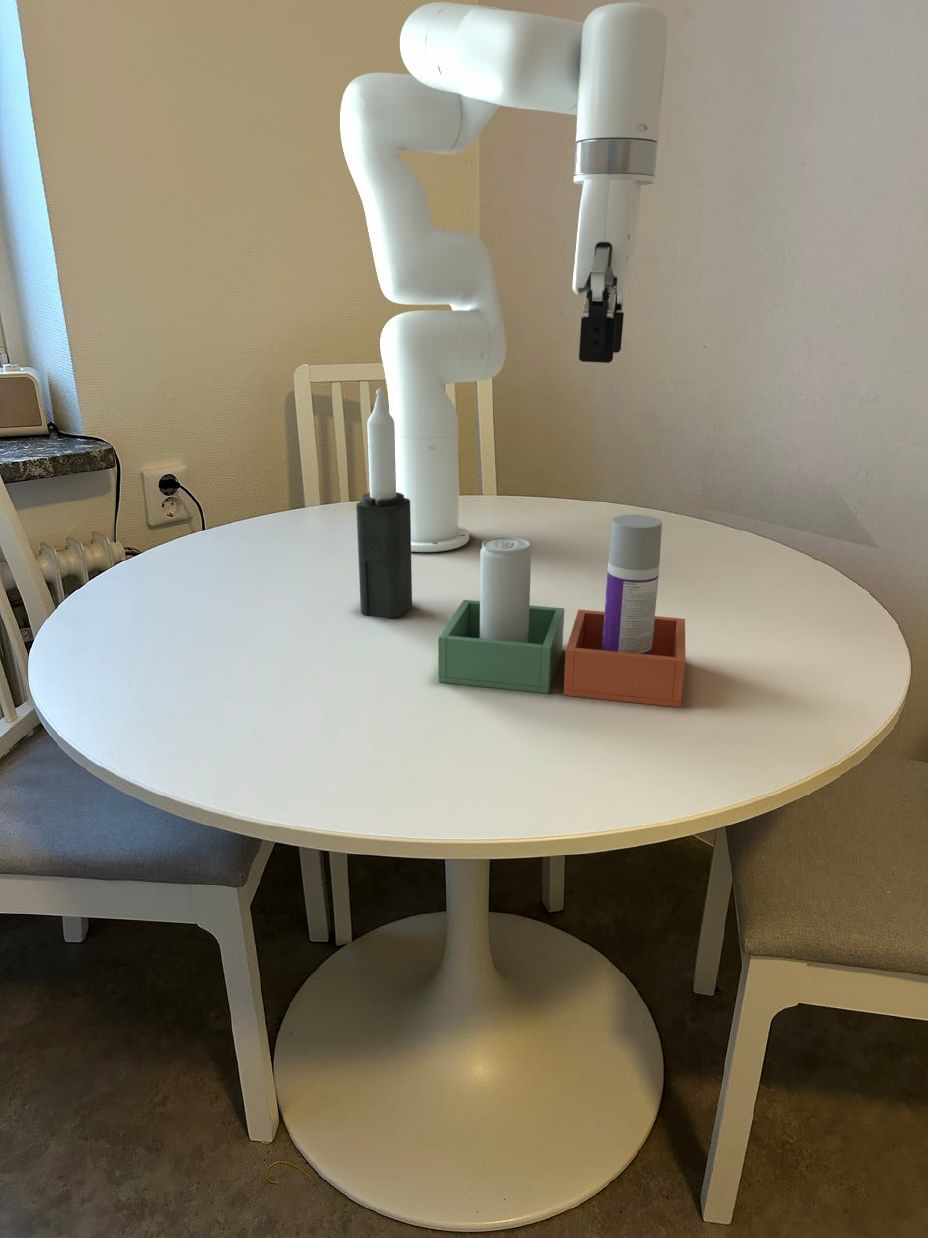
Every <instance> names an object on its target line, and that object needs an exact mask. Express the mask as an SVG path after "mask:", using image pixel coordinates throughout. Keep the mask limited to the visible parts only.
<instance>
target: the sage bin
mask: <svg viewBox="0 0 928 1238" xmlns="http://www.w3.org/2000/svg"><path fill="white" fill-rule="evenodd" d="M564 625H565V608H564V607H555V606H554V607H553V606H541V605H531V604H529V631H528V643H520V642H509V641H499V640H488V639H480V600H473V599H472V600H470V599H463V600H462V601H461V603H460V605H459V606H458V608H457V609H456V611H455V612H454V614H453V615H452V617H451V618H450V620H449V621H448V623H447V624H446V626H444V629H443V630H442V631H441V633H440V635H439V636H438V638H437V639H438V640H437V648H438V649H437V652H438V654H437V658H438V659H437V661H438V665H437V666H438V671H437V672H438V681H437V682H438V683H446V684H455V685H464V686H473V687H484V688H492V689H503V690H511V691H512V690H513V691H522V692H529V693H539V694H540V693H541V694H549V693H550V690H551V687H552V683H553V680H554V677H555V673H556V671H557V668H558V664H559V662H560V658H561V655H562V652H563V648H564V647H563V646H564V645H563V644H564Z"/></svg>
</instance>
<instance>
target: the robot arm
mask: <svg viewBox="0 0 928 1238" xmlns="http://www.w3.org/2000/svg"><path fill="white" fill-rule="evenodd" d="M668 31H669V26H668V20H667V16H666V15H665V13H664V11H663V10H661V9H660V8H659V7H657V6H655V5H652V4H649V3H644V2H634V1H633V2H631V1H630V2H628V1H627V2H626V1H625V2H614V3H608V4H605V5H601V6H598V7H597V8H595V9H593V10H592V11H591V12H590V13H589V14H588V15H587V16H586V18H585V19H584V22H582V21H576V20H571V19H566V18H563V17H562V18H561V17H555V16H551V15H544V14H537V13H531V12H525V11H519V10H518V11H517V10H511V9H510V10H508V9H503V8H502V7H498V6H489V5H477V4H469V3H468V4H467V3H459V2H458V3H456V2H446V1H437V2H436V1H435V2H429V3H425V4H424V5H421V6H419V7H418V8H416V9H414V11H412V13H410V15H409V16H408V17H407V19H406V20H405V21H404V24H403V25H402V28H401V31H400V37H399V50H400V56H401V59H402V61H403V64H404V66H405V67H406V69H407V71H408V72H409V73H410V74H404V73H398V72H397V73H396V72H381V71H380V72H369V73H364V74H362V75H360V76H356V77H355V78H354V79H352V81H350V82H349V84H348V85H347V87H345V90H344V92H343V95H342V99H341V105H340V112H339V113H340V114H339V115H340V116H339V128H340V140H341V145H342V149H343V154H344V158H345V161H346V164H347V167H348V170H349V172H350V174H351V176H352V179H353V183H355V186H356V189H357V191H358V194H359V196H360V199H361V201H362V205H363V210H364V213H365V219H366V225H367V231H368V234H369V235H368V236H369V241H370V245H371V249H372V255H373V260H374V265H375V271H376V274H377V279H378V283H379V285H380V289H381V292H382V293H383V295H384V297H385V298H386V299H387V300H389V301H390V302H392V303H395V304H398V305H411V306H413V305H414V306H419V305H420V306H425V305H426V306H427V305H433V306H435V305H449V306H450V307H451V310H446V309H432V310H431V309H430V310H429V309H427V310H410V311H405V312H402V313H400V314H397V315H395V316H393V317H391V318H390V319H389V320H388V321H387V323H386V324H384V326H383V328H382V331H381V334H380V342H379V343H380V344H379V345H380V356H381V360H382V365H383V370H384V376H385V382H386V389H387V397H388V407H389V408H388V412H389V413H390V415H391V416H392V418H393V419H394V422H395V458H396V492H398V493H401V494H403V495H404V498H407V499H409V500H410V519H411V553H412V552H414V553H436V552H445V551H450V550H454V549H458V548H460V547H464V546H465V545H466V544H468V542H469V540H470V533H469V531H468V529H466V528H465V527H463V526H461V525H459V485H460V484H459V475H460V474H459V468H460V467H459V459H460V458H459V457H460V455H459V449H460V448H459V446H460V445H459V444H460V443H459V441H460V439H459V438H460V436H459V435H460V434H459V433H460V432H459V416H458V412H457V410H456V407H455V405H454V404H453V401H452V400H451V399H450V397H449V395H448V394H447V392H446V390H445V388H444V386H443V385H449V384H457V383H459V384H460V383H471V382H473V383H474V382H481V381H488V380H490V379H492V378H494V377H496V376H498V374H499V373H500V372H501V371H502V369H503V367H504V364H505V361H506V356H507V337H506V331H505V330H506V329H505V325H504V318H503V314H502V308H501V303H500V297H499V291H498V286H497V281H496V276H495V271H494V267H493V262H492V258H491V254H490V252H489V250H488V248H487V247H486V245H485V243H484V242H483V240H482V239H481V238H480V237H478V236H477V235H476V234H474V233H473V232H469V231H465V230H457V229H440V228H438V227H437V226H435V225H434V223H433V221H432V217H431V213H430V208H429V201H428V195H427V193H426V191H425V188H424V187H423V184H422V183H421V182H420V180H419V179H418V176H416V173H415V172H414V171H413V169H412V168H410V166H409V165H408V164H407V163H406V162H405V161H404V160H403V159H402V157H401V156H400V153H399V151H404V152H412V153H413V152H415V153H428V154H438V155H439V154H440V155H455V154H460V153H462V152H464V151H466V150H468V148H470V147H471V145H473V143H475V141H476V140H477V138H478V137H479V136H480V135H481V133H482V132H483V130H484V129H485V127H486V126H487V125H488V123H489V122H490V120H491V119H492V118H493V117H494V115H495V114H496V113H497V112H498V110H499V108H500V107H501V106H502V107H508V108H514V109H522V110H535V111H542V112H552V113H557V114H563V115H565V114H566V115H572V116H576V130H575V131H576V134H575V144H574V145H575V146H574V147H575V148H574V163H573V184H577V185H578V184H579V185H582V190H581V196H580V204H579V211H578V212H579V213H578V221H577V230H576V231H577V233H576V243H575V256H574V266H573V277H572V291H573V293H574V294H575V295H577V296H580V295H581V296H582V295H584V294H585V295H584V296H585V298H584V302H583V312H582V317H581V319H580V332H579V347H578V348H579V349H578V359H579V361H580V362H582V363H603V364H610V363H611V362H612V361H613V359H614V353H615V354H617V353H620V351H621V350H622V341H623V340H622V339H623V327H624V318H625V317H624V316H625V312H623V307H624V294H625V293H626V292H628V291H629V289H630V284H631V278H632V272H633V266H634V260H635V252H636V243H637V234H638V224H639V214H640V204H641V203H640V202H641V191H642V186H648V185H653V184H655V178H656V177H655V176H656V169H657V168H656V165H657V157H658V156H657V155H658V143H659V134H660V123H661V111H662V101H663V89H664V78H665V66H666V57H667V45H668V33H669V32H668Z"/></svg>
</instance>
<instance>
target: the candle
mask: <svg viewBox="0 0 928 1238" xmlns="http://www.w3.org/2000/svg"><path fill="white" fill-rule="evenodd" d="M375 394H376V398H375V402H374V405H373V410H372V413H371V414H370V415H369V418H368V420H367V422H366V423H367V424H366V425H367V447H368V448H367V451H368V455H367V456H368V479H369V480H368V481H369V492H366V493H364V494H363V495H362V500H361V501H359V502H356V505H355V509H356V531H357V554H358V557H357V558H358V575H359V576H358V578H359V579H358V582H359V601H360V604H359V605H360V613H361V614H362V615H364V616H374V617H382V618H387V619H398V618H401V617H403V616H404V615H405V614H406V613H407V612H409V611H410V610H411V609H412V608H413V581H412V580H413V576H412V575H413V574H412V551H411V519H410V500H409V499H407V498H404V495H403V494H401V493H398V492H396V458H395V422H394V419H393V418H392V416H391V415H390V411H389V408H388V407H387V403H386V400H385V397H384V395H385V390H383V388H381V387H379V388H377V389H376V391H375Z"/></svg>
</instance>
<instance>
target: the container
mask: <svg viewBox="0 0 928 1238" xmlns="http://www.w3.org/2000/svg"><path fill="white" fill-rule="evenodd" d="M662 531H663V521H662V520H661V519H659V518H657V517H655V516H649V515H643V514H622V515H618V516H615V517H613V518H612V522H611V532H610V542H609V551H608V552H609V553H608V561H607V570H606V571H607V572H606V586H605V602H604V612H605V614H604V628H603V643H602V650H604V651H615V652H626V653H636V654H647V655H651V652H652V641H653V630H654V620H655V616H656V609H657V600H658V599H657V598H658V586H659V576H660V575H659V574H660V563H661V562H660V561H661V544H662Z"/></svg>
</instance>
